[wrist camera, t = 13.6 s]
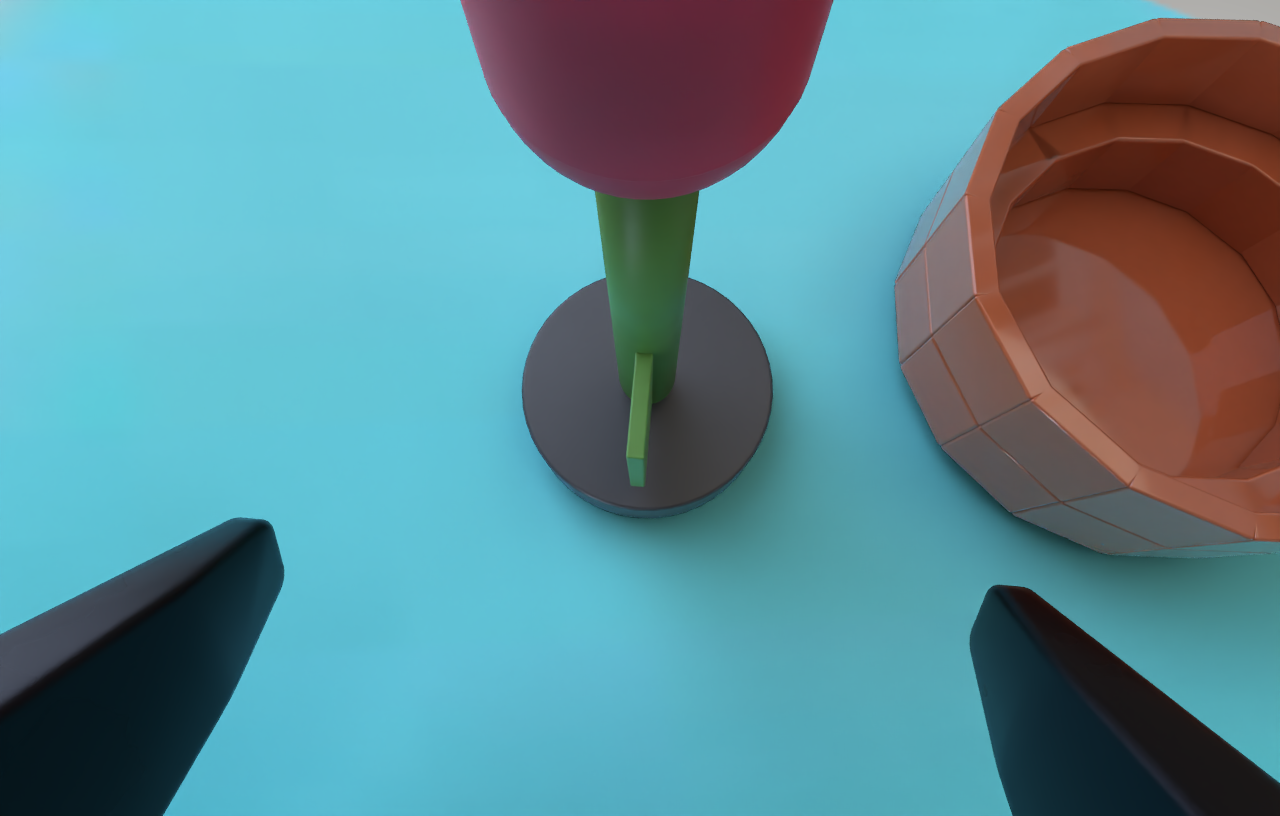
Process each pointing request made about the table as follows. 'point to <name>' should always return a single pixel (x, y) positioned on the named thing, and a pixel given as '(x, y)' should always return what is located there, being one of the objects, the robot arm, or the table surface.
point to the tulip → (647, 228)
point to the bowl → (1115, 295)
